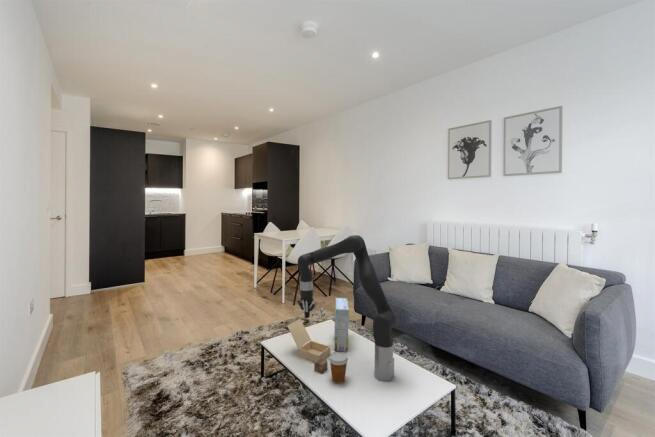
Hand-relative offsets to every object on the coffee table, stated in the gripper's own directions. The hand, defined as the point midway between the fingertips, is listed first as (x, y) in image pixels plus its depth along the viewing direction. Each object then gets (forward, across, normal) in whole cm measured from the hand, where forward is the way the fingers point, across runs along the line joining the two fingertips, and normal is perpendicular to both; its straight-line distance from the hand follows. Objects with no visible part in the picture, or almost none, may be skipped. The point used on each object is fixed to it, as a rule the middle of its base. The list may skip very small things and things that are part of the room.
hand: (307, 317), depth 177 cm
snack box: (+22, -10, -22) cm, 33 cm away
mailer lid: (+10, +6, 0) cm, 12 cm away
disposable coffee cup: (+22, -28, +12) cm, 38 cm away
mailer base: (+22, -5, 0) cm, 22 cm away
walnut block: (+22, -16, +10) cm, 29 cm away
